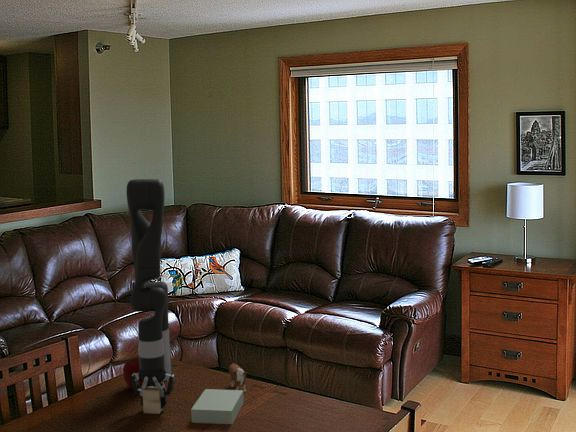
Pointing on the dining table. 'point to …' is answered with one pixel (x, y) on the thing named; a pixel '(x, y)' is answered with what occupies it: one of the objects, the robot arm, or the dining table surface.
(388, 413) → the dining table surface
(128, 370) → the apple
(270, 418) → the dining table surface
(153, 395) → the maple block
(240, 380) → the bull figurine
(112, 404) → the dining table surface
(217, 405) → the plinth
